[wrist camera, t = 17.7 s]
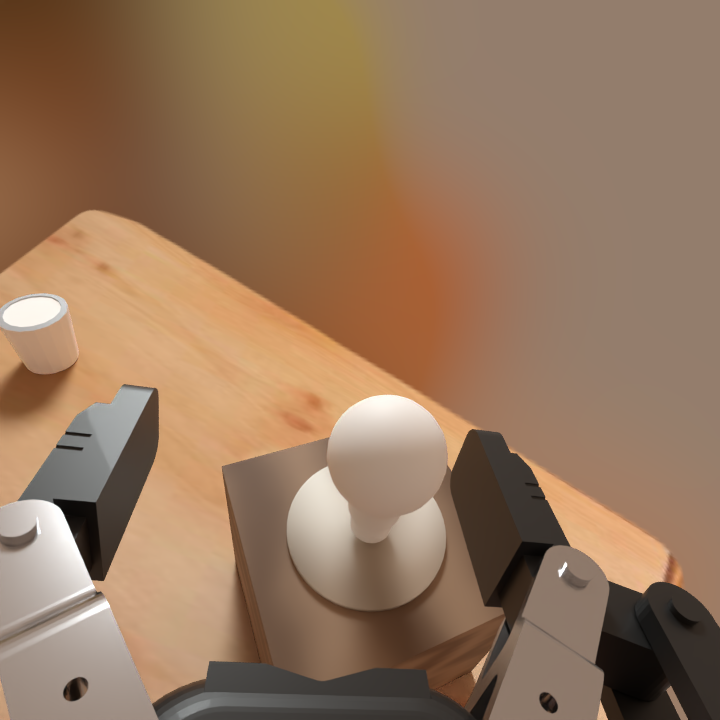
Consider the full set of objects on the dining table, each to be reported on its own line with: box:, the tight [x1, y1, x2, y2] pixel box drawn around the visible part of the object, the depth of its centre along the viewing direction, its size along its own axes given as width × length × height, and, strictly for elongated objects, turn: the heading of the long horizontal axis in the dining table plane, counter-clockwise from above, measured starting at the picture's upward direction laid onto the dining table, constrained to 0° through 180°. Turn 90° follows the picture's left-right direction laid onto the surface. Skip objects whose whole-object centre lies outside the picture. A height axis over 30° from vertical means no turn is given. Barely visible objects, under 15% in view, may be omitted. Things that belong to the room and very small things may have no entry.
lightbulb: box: [327, 395, 448, 543], centre depth 26 cm, size 6×6×11 cm
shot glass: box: [0, 293, 79, 375], centre depth 55 cm, size 7×7×7 cm
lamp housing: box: [222, 437, 505, 690], centre depth 35 cm, size 15×15×14 cm
